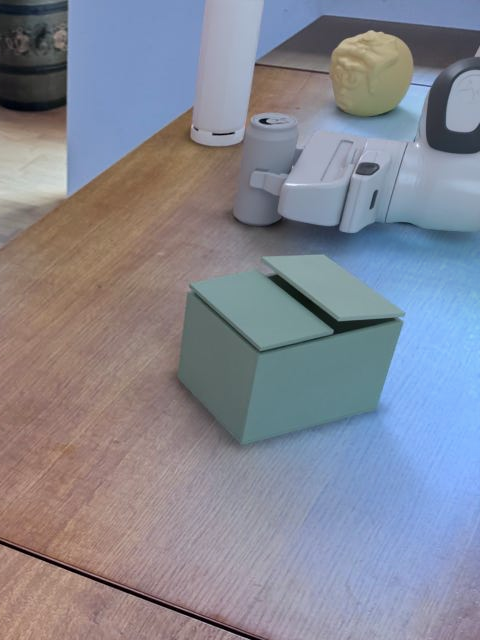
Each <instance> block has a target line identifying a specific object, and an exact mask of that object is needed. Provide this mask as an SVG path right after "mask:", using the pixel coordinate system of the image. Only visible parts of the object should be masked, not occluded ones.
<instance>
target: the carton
mask: <svg viewBox="0 0 480 640" xmlns="http://www.w3.org/2000/svg"><path fill="white" fill-rule="evenodd" d="M188 288H189V289H190V290H188V291H187V293H186V301H185V308H184V318H183V324H182V325H183V326H182V333H181V342H180V350H179V358H178V366H177V375H176V378H177V379H178V381H180V382H181V383H182V384H183V385H184V386H185V387H186V388H187V389H188V390H189V391H190V392H191V394H192V395H193V396H194V397H195V398H196V399H197V400H198V401H199V402H200V403H201V404H202V405H203V406H204V407H205V408H206V409H207V411H208V412H209V413H210V414H211V415H212V416H213V417H214V418H215V419H217V421H218V422H219V423H220V424H221V425H222V426H223V427H224V428H225V429H226V430H227V431H228V433H230V435H231V436H232V437H233V438H234V439H235V440H236V441H237V442H238V443H239V444H240V445H241V446H243V445H247V444H251V443H255V442H259V441H262V440H266V439H270V438H274V437H278V436H281V435H282V436H283V435H286V434H289V433H293V432H297V431H301V430H304V429H308V428H311V427H316V426H320V425H323V424H327V423H331V422H335V421H338V420H342V419H346V418H350V417H354V416H358V415H361V414H366V413H369V412H374V411H377V409H378V406H379V402H380V399H381V397H382V396H381V395H382V392H383V390H384V386H385V384H386V383H385V382H386V380H387V377H388V373H389V370H390V368H391V364H392V360H393V357H394V354H395V351H396V348H397V345H398V341H399V338H400V336H401V331H402V328H403V326H404V322H405V321H404V320H403V319H402V318H401V317H395V318H380V319H365V320H350V321H337V320H336V319H335V318H333V317H332V316H331V315H329V314H328V313H327V312H326V311H324V310H323V309H322V308H320V307H319V306H318V305H317V304H315V303H314V302H313V301H312V300H310V299H309V298H308V297H306V296H305V295H304V294H303V293H301V292H300V291H299V290H297V289H296V288H295V287H294V286H292V285H291V284H290V283H288V282H287V281H286V280H285V279H283V278H282V277H281V276H279V275H278V274H277V273H276V272H270V273H266V274H264V273H262V272H261V271H260V270H259V269H258V268H255V269H250V270H245V271H241V272H237V273H231V274H226V275H222V276H218V277H213V278H209V279H205V280H200V281H195V282H191V283H189V284H188Z"/></svg>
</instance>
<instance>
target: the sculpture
mask: <svg viewBox="0 0 480 640" xmlns="http://www.w3.org/2000/svg"><path fill="white" fill-rule="evenodd" d="M330 56H331V57H330V66H329V69H328V72H329V73H328V77H329V79H330V80H331V86H332V91H333V97H334V100H335V104H336V105H337V106H338V107H339V109H340V110H341V111H343V112H344V113H346V114H348V115H352V116H358V117H374V116H375V117H376V116H379V115H382V114H385V113H387V112H390V111H392V110H394V109H395V108H396V107H398V106H399V105H400V103H401V102H402V101H403V100H404V98H405V97H406V95H407V94H408V92H409V89H410V87H411V85H412V81H413V76H414V58H413V54H412V51H411V49H410V48H409V47H408V45H407V44H406V43H405V42H404V41H403V40H402V39H401V38H399V37H397V36H395V35H392V34H388V33H385V32H383V31H379V32H377V31H375V30H373V29H371V30H368V31H366V32H365V33H359V34H357V35H355V36H352V37H348V38H347V37H346V38H345V39H343V40H342V41H341V42H340V43H339V44H338V45H337V47H336V48H334V50H332V53H331V55H330Z"/></svg>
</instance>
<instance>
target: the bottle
mask: <svg viewBox="0 0 480 640" xmlns="http://www.w3.org/2000/svg"><path fill="white" fill-rule="evenodd" d="M204 2H205V3H204V11H203V20H202V27H201V37H200V38H201V39H200V45H199V46H200V47H199V55H198V63H197V64H198V65H197V73H196V82H195V92H194V101H193V109H192V119H191V120H192V123H191V126H190V127H191V128H190V134H189V135H190V136H189V137H190V139H191V140H192V141H194V142H195V143H197V144H200V145H203V146H210V147H228V146H233V145H236V144H239V143H241V142H242V141H244V138H245V132H246V123H247V118H248V112H249V105H250V99H251V92H252V84H253V77H254V72H255V71H254V70H255V65H256V59H257V51H258V46H259V45H258V44H259V39H260V32H261V26H262V18H263V13H264V5H265V0H205V1H204ZM230 133H232V134H230ZM215 134H216V135H215ZM217 134H221V135H217ZM222 134H224V135H222ZM225 134H226V135H225Z"/></svg>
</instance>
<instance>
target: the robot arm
mask: <svg viewBox="0 0 480 640" xmlns="http://www.w3.org/2000/svg"><path fill="white" fill-rule="evenodd" d="M250 186H251V187H254V188H261V189H264V190H266V191H268V192H270V193H271V194H273V195H277V196H280V198H279V204H278V213H279V214H280V215H282V217H283V218H284V219H287V220H291V221H295V222H299V223H306V224H310V225H317V226H321V227H322V226H324V227H335V226H338V225H339V227H338V228H339V232H342V233H346V234H355V233H357V232H359V231H361V230H362V229H364V228H365V227H367V226H369V225H371V224H374V223H375V222H376V223H383V224H393V223H399V222H400V223H409V224H412V225H415V226H417V227H419V228H421V229H428V230H435V231H444V232H445V231H447V232H463V233H464V232H465V233H466V232H467V233H468V232H470V233H471V232H480V46H478V49H477V50H476V52H475V55H474V56H470V57H466V58H461V59H460V60H457V61H455V62H454V63H451V64H450V65H448V66H446V67H445V68H444V69H443V70H442V71H441V72H440V73H439V74H438V75H437V76H436V77H435V79H434V81H433V82H432V84H431V86H430V87H429V90H428V92H427V94H426V95H425V99H424V101H423V105H422V108H421V113H420V116H419V120H418V125H417V129H416V133H415V137H414V139H413V141H412V142H411V141H402V140H392V139H384V138H375V137H369V138H366V137H364V136H361V135H356V134H352V133H346V132H341V131H340V132H339V131H334V130H327V129H326V130H325V129H322V130H321V129H320V130H316V131H313V132H312V134H311V136H310V137H309V139H308V141H307V142H306V144H305V145H304V144H297V145H296V150H295V155H294V160H293V165H292V170H291V172H290V174H282V173H281V174H280V175H277V174H274V173H270V172H268V169H260V168H256V169H255V170H254V171H253V173H252V174H251V178H250Z"/></svg>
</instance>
